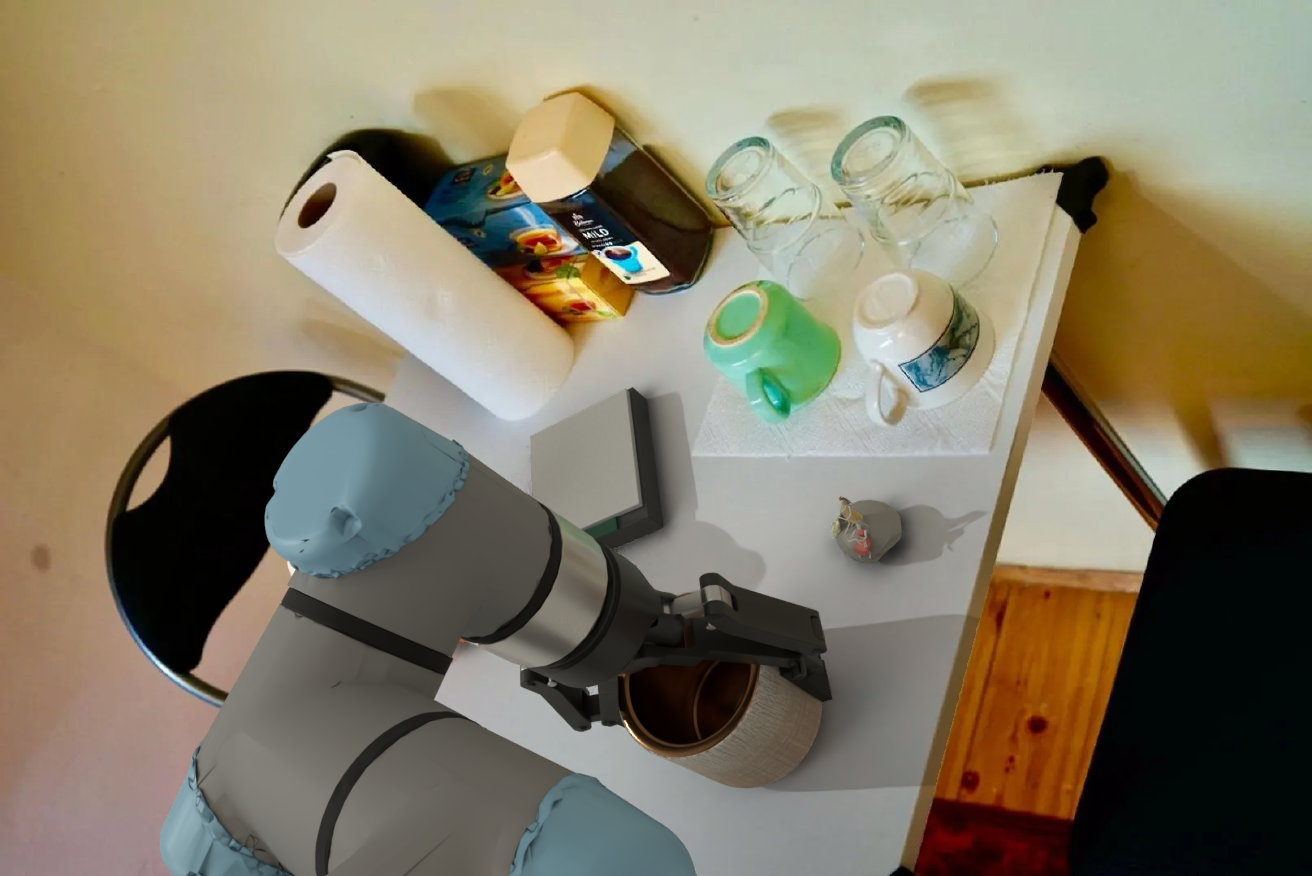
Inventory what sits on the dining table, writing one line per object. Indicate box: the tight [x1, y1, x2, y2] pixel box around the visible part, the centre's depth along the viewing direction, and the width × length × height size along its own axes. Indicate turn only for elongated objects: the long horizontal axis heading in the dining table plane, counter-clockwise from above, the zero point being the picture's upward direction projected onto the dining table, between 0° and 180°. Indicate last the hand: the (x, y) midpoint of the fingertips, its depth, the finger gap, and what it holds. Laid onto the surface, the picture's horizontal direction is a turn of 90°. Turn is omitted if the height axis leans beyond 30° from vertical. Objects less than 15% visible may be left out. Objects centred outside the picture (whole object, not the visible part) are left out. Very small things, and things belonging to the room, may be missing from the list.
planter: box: [618, 590, 824, 789], centre depth 59 cm, size 11×11×10 cm
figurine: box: [830, 495, 903, 564], centre depth 62 cm, size 5×4×6 cm
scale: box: [529, 386, 664, 550], centre depth 81 cm, size 14×12×3 cm
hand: (747, 705), depth 62 cm, fingers closed on planter, 11 cm apart
